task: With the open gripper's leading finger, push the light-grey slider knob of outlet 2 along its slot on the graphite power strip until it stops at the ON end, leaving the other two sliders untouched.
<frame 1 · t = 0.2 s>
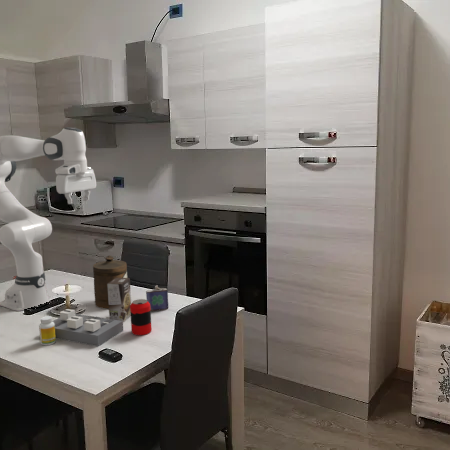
hand: (78, 202, 199), 48 cm above the table, tool pointing down, fingers open, 8 cm apart
soda can: (141, 332, 187), on the table
slider 1: (67, 314, 189), point 6 cm above the table, slide at 5.0 cm
slider 3: (92, 324, 178), point 6 cm above the table, slide at 0.0 cm
slider 2: (75, 321, 181), point 6 cm above the table, slide at 0.0 cm
power strip: (83, 333, 186), on the table
coffee box: (121, 318, 201), on the table
wooden container: (112, 303, 220), on the table
supplement bottle: (48, 343, 179), on the table
flask: (157, 310, 210), on the table
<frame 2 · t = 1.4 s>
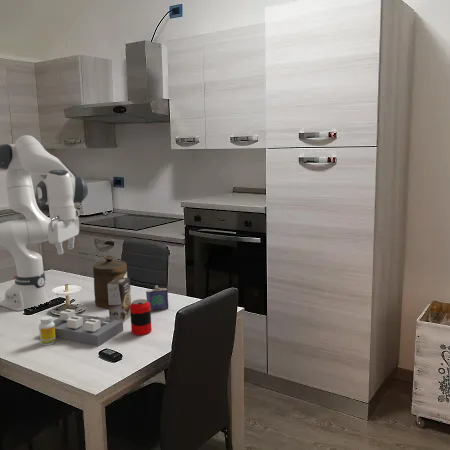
hand: (66, 251, 180), 32 cm above the table, tool pointing down, fingers open, 8 cm apart
nothing on the table moved.
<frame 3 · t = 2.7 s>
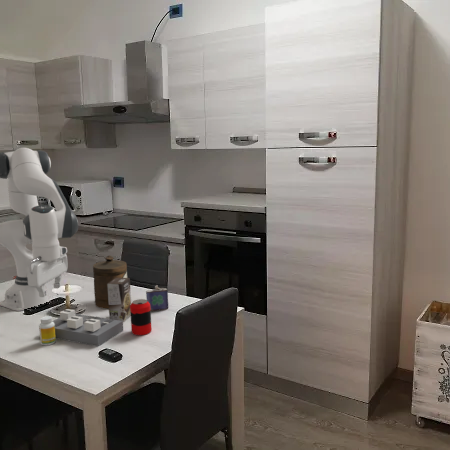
hand: (50, 292, 169), 21 cm above the table, tool pointing down, fingers open, 8 cm apart
nothing on the table moved.
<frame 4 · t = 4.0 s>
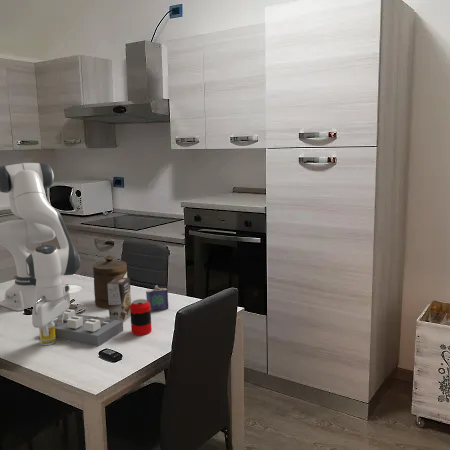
hand: (53, 330, 171), 7 cm above the table, tool pointing down, fingers open, 8 cm apart
nothing on the table moved.
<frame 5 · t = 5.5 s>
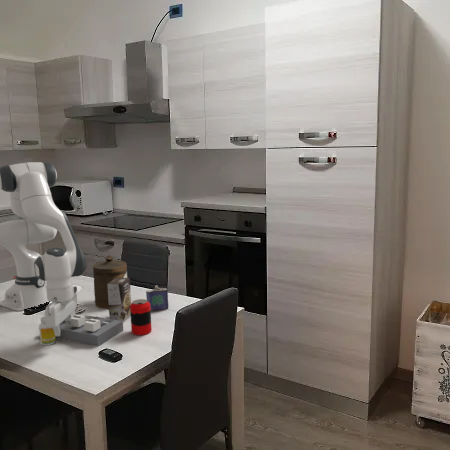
hand: (63, 330, 176), 5 cm above the table, tool pointing down, fingers open, 8 cm apart
slider 2: (77, 320, 183), point 6 cm above the table, slide at 1.4 cm, touching gripper
everything else where it was.
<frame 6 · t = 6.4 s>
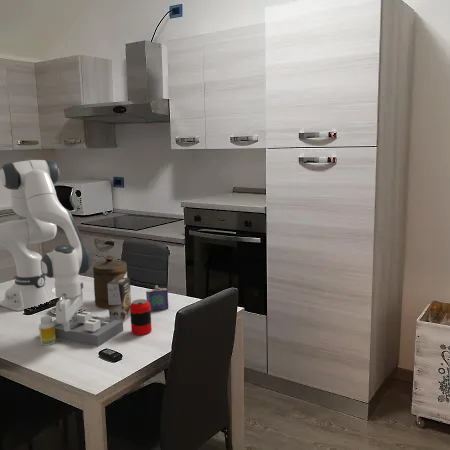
hand: (71, 326, 180), 5 cm above the table, tool pointing down, fingers open, 7 cm apart
slider 2: (84, 317, 186), point 6 cm above the table, slide at 5.1 cm, touching gripper
everything else where it was.
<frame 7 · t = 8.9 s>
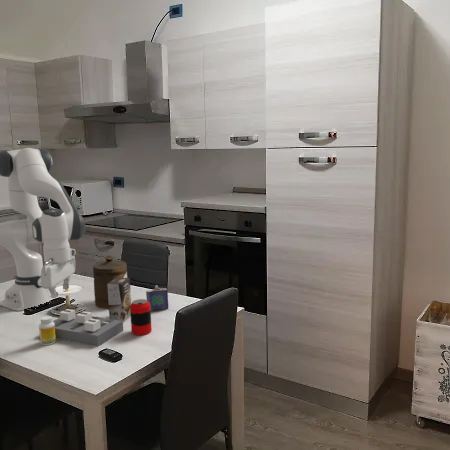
hand: (60, 292, 174), 19 cm above the table, tool pointing down, fingers open, 8 cm apart
slider 2: (84, 317, 186), point 6 cm above the table, slide at 5.1 cm
everything else where it was.
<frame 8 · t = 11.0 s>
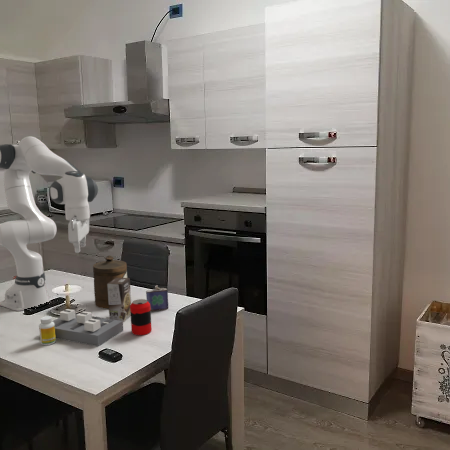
hand: (80, 249, 188), 31 cm above the table, tool pointing down, fingers open, 8 cm apart
nothing on the table moved.
at the end: slider 2 slide at 5.1 cm; slider 1 slide at 5.0 cm; slider 3 slide at 0.0 cm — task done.
